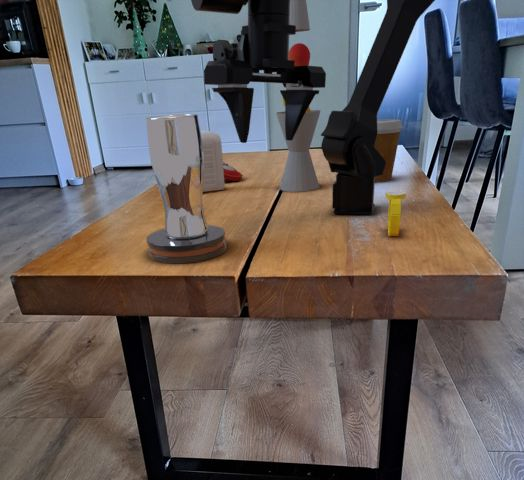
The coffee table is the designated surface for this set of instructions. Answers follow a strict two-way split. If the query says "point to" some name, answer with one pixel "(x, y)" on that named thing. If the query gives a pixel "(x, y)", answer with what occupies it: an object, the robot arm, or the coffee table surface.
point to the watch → (394, 211)
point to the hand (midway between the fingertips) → (267, 141)
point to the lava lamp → (299, 160)
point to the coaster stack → (186, 246)
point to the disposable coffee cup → (387, 145)
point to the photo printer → (212, 162)
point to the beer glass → (179, 172)
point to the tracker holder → (231, 173)
